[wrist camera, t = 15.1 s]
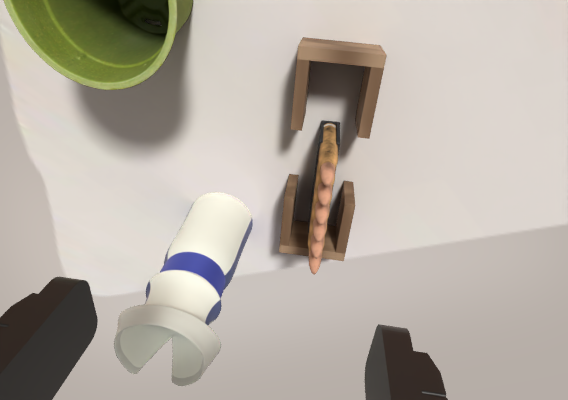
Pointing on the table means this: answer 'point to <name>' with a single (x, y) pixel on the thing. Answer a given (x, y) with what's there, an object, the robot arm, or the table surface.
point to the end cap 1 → (340, 54)
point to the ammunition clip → (322, 190)
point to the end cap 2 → (297, 231)
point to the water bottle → (187, 291)
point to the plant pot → (101, 37)
